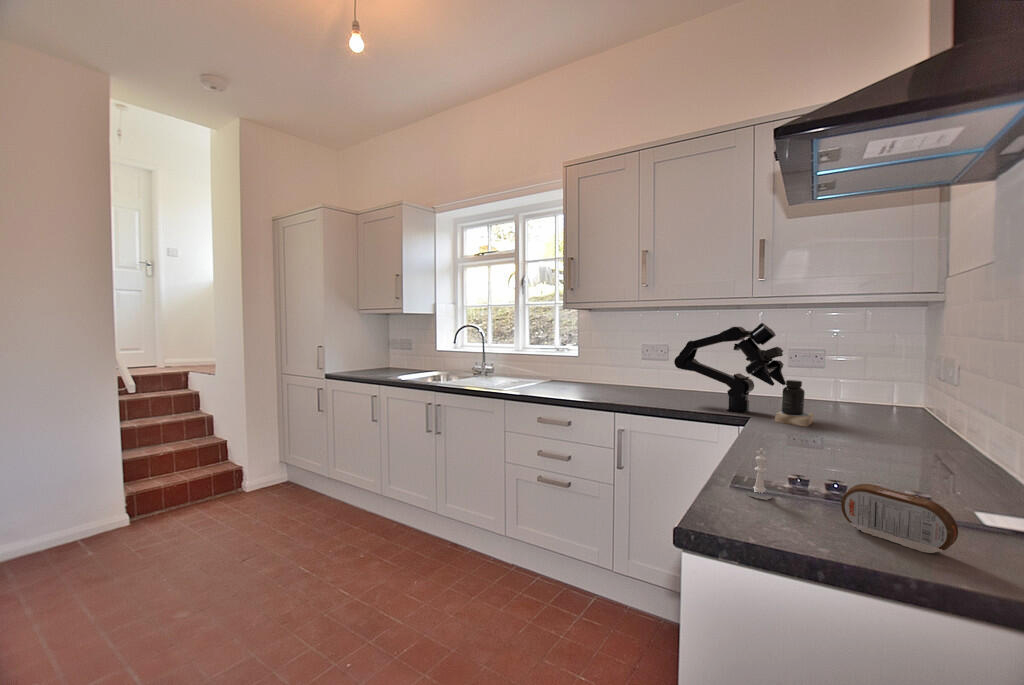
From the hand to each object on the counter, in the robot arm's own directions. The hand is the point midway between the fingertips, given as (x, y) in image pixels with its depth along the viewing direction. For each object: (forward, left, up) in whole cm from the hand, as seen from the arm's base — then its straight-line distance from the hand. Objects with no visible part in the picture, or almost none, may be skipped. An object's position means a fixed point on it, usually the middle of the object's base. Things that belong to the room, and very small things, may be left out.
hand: (779, 384), depth 171 cm
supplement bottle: (+5, -3, -10) cm, 12 cm away
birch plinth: (+6, -2, -13) cm, 14 cm away
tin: (+41, -93, -13) cm, 102 cm away
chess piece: (+19, -88, -13) cm, 91 cm away
